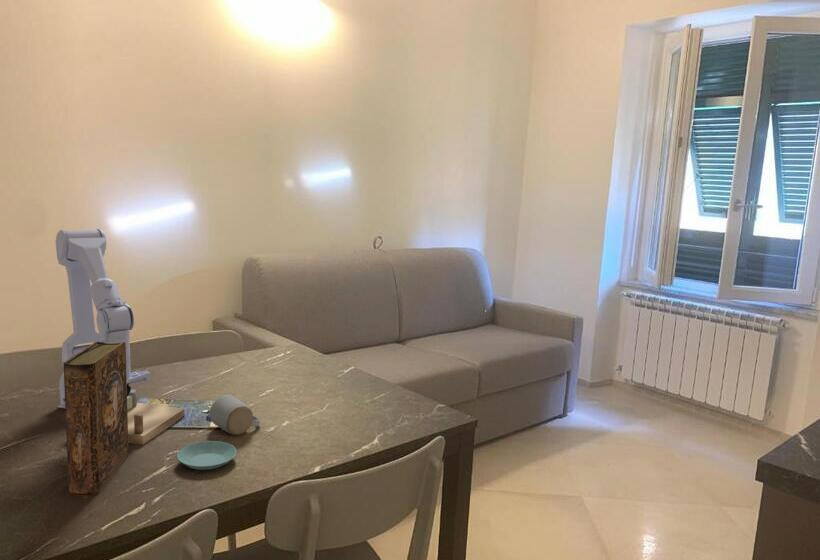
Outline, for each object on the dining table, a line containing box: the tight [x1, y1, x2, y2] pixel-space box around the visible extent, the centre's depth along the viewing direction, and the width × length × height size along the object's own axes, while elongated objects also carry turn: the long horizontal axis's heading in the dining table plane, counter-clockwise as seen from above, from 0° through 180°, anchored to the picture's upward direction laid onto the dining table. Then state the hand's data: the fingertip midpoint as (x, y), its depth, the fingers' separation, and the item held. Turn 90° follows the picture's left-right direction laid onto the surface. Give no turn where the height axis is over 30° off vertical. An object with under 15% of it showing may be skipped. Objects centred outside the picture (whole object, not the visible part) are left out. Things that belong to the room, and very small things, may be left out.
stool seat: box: [127, 402, 185, 445], centre depth 147 cm, size 17×17×6 cm
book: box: [62, 341, 129, 497], centre depth 121 cm, size 16×6×25 cm, turn 5°
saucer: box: [176, 440, 238, 471], centre depth 131 cm, size 12×12×2 cm
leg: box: [127, 389, 138, 410], centre depth 148 cm, size 14×3×4 cm, turn 171°
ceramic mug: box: [209, 394, 261, 436], centre depth 148 cm, size 11×8×8 cm
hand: (117, 416), depth 144 cm, fingers closed
